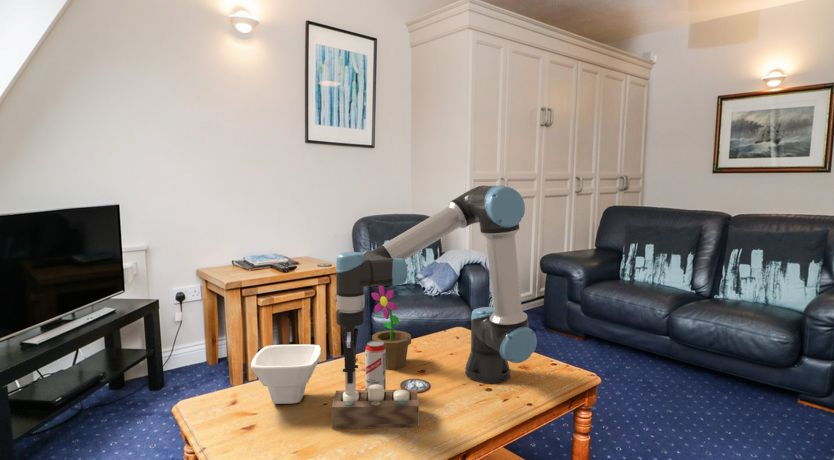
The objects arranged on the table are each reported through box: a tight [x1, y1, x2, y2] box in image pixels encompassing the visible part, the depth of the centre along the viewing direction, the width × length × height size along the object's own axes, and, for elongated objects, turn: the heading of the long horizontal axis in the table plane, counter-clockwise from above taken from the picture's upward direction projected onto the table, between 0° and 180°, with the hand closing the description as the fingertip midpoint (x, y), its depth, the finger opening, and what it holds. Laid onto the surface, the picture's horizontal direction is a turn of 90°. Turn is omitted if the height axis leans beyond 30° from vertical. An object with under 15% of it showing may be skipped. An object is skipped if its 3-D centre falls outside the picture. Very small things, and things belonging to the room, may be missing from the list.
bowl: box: [250, 343, 322, 405], centre depth 143 cm, size 19×19×14 cm
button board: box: [331, 389, 420, 430], centre depth 132 cm, size 23×10×6 cm, turn 93°
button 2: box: [394, 389, 409, 400], centre depth 133 cm, size 4×4×5 cm
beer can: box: [364, 340, 387, 390], centre depth 147 cm, size 6×6×16 cm
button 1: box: [343, 391, 359, 401], centre depth 132 cm, size 4×4×5 cm
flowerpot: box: [371, 286, 412, 371], centre depth 171 cm, size 14×14×30 cm
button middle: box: [368, 384, 384, 401], centre depth 133 cm, size 4×4×5 cm
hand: (350, 392), depth 132 cm, fingers closed
